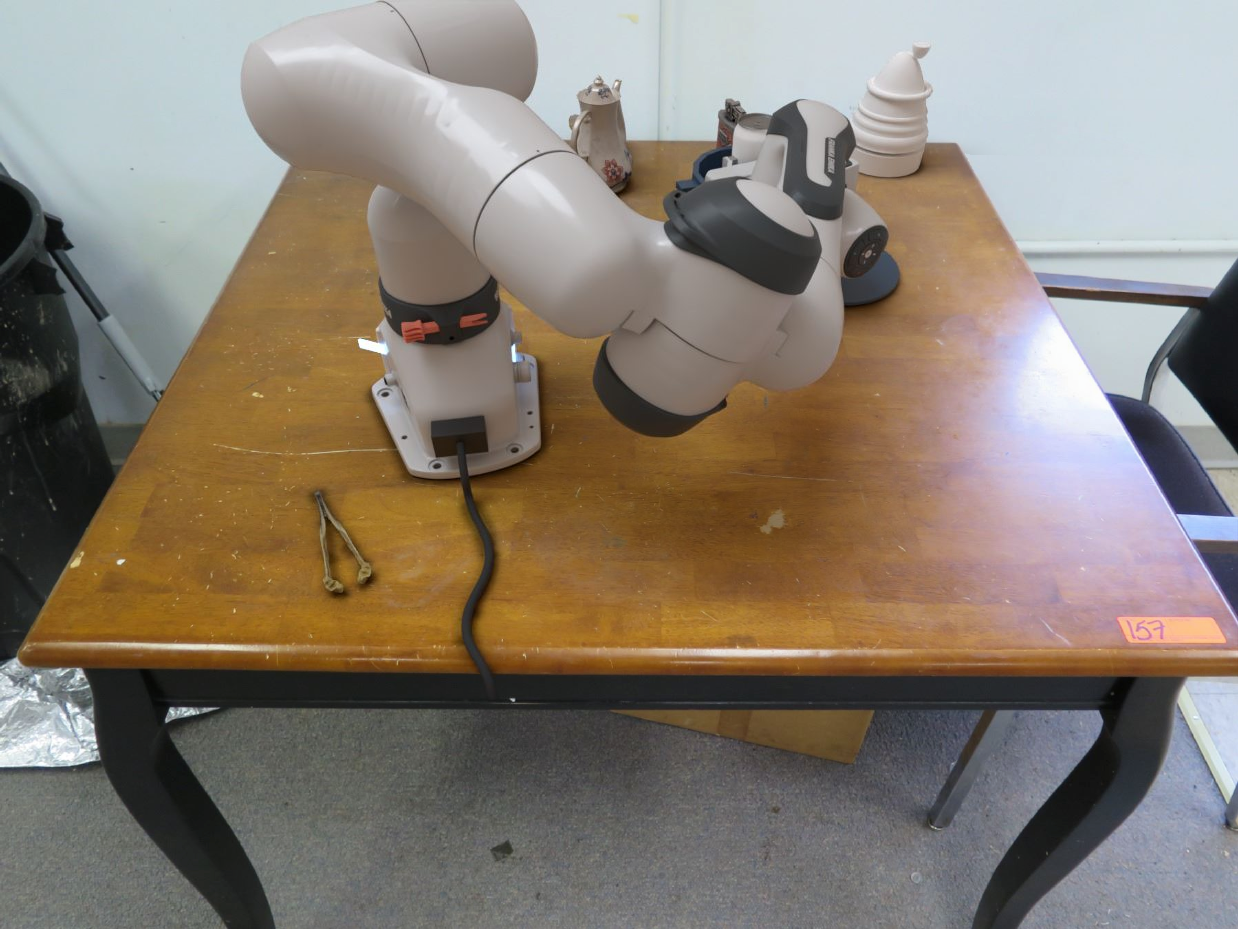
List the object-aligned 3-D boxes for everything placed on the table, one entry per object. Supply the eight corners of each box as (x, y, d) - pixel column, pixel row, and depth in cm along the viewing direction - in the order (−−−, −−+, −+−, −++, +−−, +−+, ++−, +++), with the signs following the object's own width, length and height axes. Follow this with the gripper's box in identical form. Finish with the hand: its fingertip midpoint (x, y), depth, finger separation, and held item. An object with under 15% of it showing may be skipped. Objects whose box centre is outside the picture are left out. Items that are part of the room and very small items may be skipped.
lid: (923, 296, 103) (933, 265, 99) (800, 319, 99) (807, 288, 96) (855, 229, 114) (862, 200, 111) (743, 248, 111) (747, 218, 107)
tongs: (329, 490, 78) (324, 477, 77) (378, 583, 71) (373, 571, 70) (287, 507, 77) (282, 494, 75) (333, 604, 70) (327, 592, 68)
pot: (838, 225, 115) (846, 186, 111) (696, 247, 111) (700, 207, 106) (788, 174, 126) (794, 137, 122) (658, 192, 122) (659, 154, 117)
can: (771, 192, 119) (780, 111, 111) (773, 212, 115) (782, 130, 106) (728, 191, 120) (734, 111, 111) (728, 212, 115) (734, 129, 107)
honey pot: (929, 154, 132) (964, 37, 119) (905, 184, 124) (939, 63, 111) (856, 136, 136) (881, 22, 123) (828, 164, 129) (852, 46, 116)
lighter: (709, 156, 131) (715, 94, 124) (728, 153, 131) (735, 91, 124) (728, 177, 125) (735, 114, 118) (748, 174, 126) (756, 111, 119)
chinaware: (582, 144, 137) (569, 40, 126) (669, 153, 131) (664, 45, 119) (496, 216, 120) (472, 103, 108) (592, 231, 113) (578, 112, 102)
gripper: (728, 235, 104) (685, 190, 113) (861, 204, 108) (809, 164, 118) (731, 189, 99) (686, 147, 108) (870, 159, 104) (815, 121, 113)
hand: (751, 156), depth 113 cm, fingers closed on can, 6 cm apart
